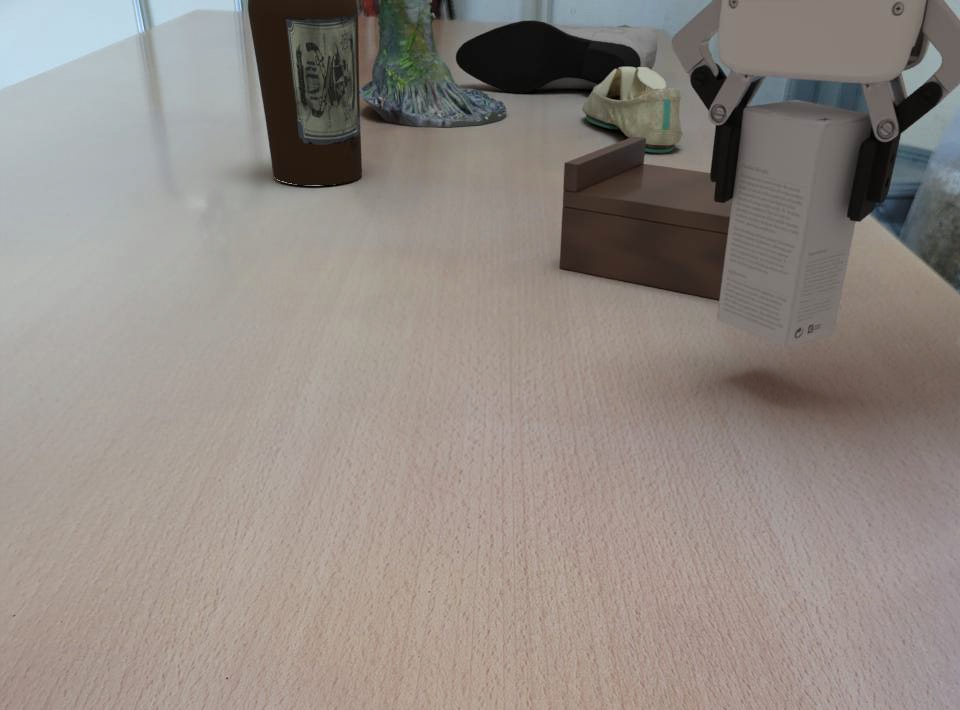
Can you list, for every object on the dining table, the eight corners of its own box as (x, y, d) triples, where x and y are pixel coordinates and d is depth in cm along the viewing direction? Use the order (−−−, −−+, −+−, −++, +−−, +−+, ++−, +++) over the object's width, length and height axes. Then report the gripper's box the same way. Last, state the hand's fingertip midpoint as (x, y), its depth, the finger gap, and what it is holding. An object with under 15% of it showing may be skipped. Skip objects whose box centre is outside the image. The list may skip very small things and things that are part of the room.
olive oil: (252, 173, 108) (215, -117, 93) (339, 161, 113) (318, -117, 97) (294, 194, 101) (261, -117, 86) (386, 180, 106) (370, -117, 90)
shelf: (798, 264, 83) (818, 159, 78) (744, 305, 75) (763, 191, 70) (625, 234, 90) (633, 136, 85) (559, 268, 82) (564, 162, 77)
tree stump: (452, 138, 125) (415, -31, 116) (342, 159, 137) (301, 8, 128) (534, 108, 136) (506, -48, 127) (425, 130, 148) (393, -11, 139)
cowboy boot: (641, 36, 139) (672, 19, 158) (455, 10, 144) (507, -3, 163) (629, 112, 144) (661, 87, 163) (451, 83, 150) (502, 62, 169)
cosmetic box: (835, 335, 60) (881, 114, 53) (784, 351, 58) (824, 124, 51) (763, 306, 64) (796, 97, 57) (712, 320, 62) (740, 106, 55)
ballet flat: (627, 114, 135) (632, 49, 131) (706, 153, 117) (716, 78, 112) (569, 117, 134) (572, 51, 129) (640, 156, 115) (647, 81, 110)
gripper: (1080, -210, 44) (968, 210, 55) (714, -192, 52) (679, 174, 63) (1051, -216, 40) (934, 246, 50) (651, -196, 47) (625, 202, 58)
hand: (793, 203), depth 57 cm, fingers closed on cosmetic box, 7 cm apart
